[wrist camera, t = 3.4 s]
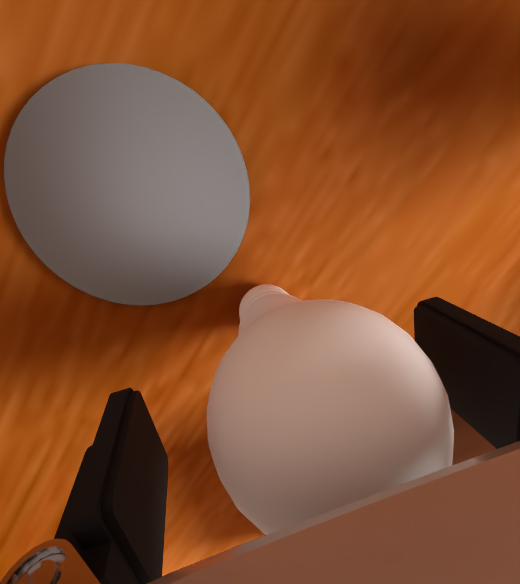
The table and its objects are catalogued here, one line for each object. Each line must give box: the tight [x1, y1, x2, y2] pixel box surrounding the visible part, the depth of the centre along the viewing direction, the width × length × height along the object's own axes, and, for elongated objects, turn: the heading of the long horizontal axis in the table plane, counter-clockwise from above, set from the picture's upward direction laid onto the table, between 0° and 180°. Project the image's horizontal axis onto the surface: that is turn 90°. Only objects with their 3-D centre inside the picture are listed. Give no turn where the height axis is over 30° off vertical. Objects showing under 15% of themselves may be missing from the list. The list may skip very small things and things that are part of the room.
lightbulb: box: [207, 284, 454, 535], centre depth 11 cm, size 6×6×11 cm
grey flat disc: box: [4, 63, 250, 305], centre depth 13 cm, size 9×9×1 cm
